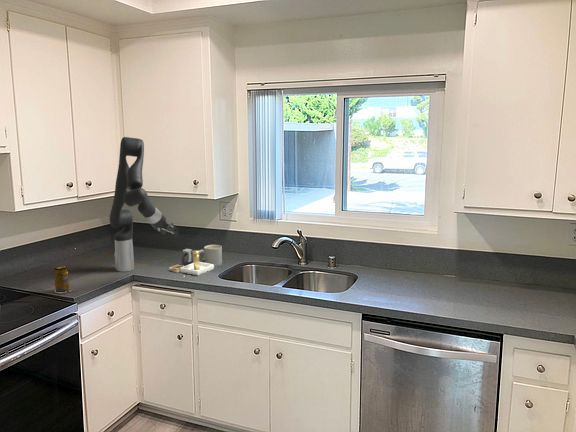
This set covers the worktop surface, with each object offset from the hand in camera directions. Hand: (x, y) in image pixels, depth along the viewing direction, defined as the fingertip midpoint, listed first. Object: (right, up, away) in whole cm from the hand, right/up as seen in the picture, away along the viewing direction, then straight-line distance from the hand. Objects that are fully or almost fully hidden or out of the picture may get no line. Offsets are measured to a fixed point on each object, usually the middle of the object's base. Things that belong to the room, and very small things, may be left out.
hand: (171, 234), depth 240 cm
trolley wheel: (+4, -19, +22) cm, 29 cm away
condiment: (-47, -27, -18) cm, 57 cm away
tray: (+11, -20, +14) cm, 27 cm away
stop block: (0, -20, +14) cm, 25 cm away
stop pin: (+11, -20, +14) cm, 26 cm away
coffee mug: (+16, -18, +27) cm, 36 cm away
